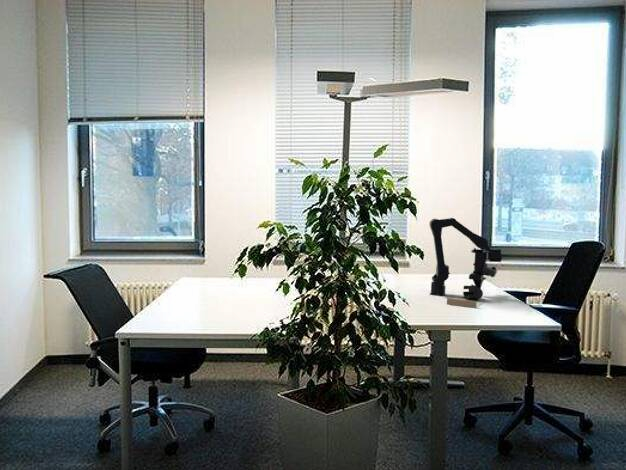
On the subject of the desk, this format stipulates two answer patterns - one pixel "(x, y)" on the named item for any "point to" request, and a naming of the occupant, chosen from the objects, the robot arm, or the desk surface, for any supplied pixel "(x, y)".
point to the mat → (463, 303)
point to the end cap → (472, 293)
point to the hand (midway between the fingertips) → (478, 291)
